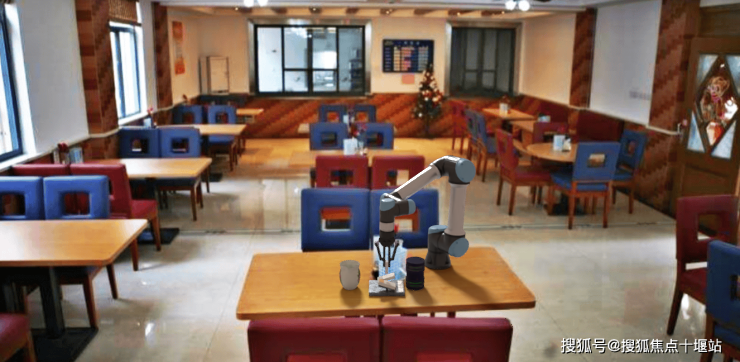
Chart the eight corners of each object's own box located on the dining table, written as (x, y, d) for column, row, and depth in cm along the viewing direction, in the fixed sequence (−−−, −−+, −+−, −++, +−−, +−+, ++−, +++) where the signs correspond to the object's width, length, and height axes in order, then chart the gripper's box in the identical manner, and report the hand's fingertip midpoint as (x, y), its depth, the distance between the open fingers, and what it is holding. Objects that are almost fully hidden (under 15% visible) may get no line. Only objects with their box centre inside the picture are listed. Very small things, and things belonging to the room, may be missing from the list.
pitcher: (360, 279, 308) (360, 255, 305) (360, 293, 291) (360, 268, 288) (340, 279, 308) (339, 255, 305) (338, 293, 291) (338, 268, 288)
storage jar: (409, 291, 294) (409, 264, 290) (402, 283, 303) (403, 257, 299) (427, 289, 296) (427, 262, 292) (420, 281, 305) (421, 255, 302)
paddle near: (394, 286, 293) (395, 283, 293) (394, 289, 289) (395, 286, 289) (377, 280, 293) (378, 277, 292) (377, 284, 288) (378, 281, 288)
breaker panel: (403, 283, 303) (403, 277, 302) (404, 296, 288) (404, 289, 287) (369, 283, 303) (369, 277, 302) (368, 296, 288) (368, 289, 288)
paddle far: (394, 275, 300) (393, 272, 300) (395, 278, 296) (394, 275, 295) (378, 279, 301) (377, 276, 300) (378, 283, 296) (377, 280, 296)
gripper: (399, 226, 291) (399, 270, 297) (374, 226, 291) (373, 269, 297) (400, 231, 284) (399, 275, 290) (374, 231, 284) (373, 275, 290)
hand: (386, 272), depth 293 cm, fingers closed
